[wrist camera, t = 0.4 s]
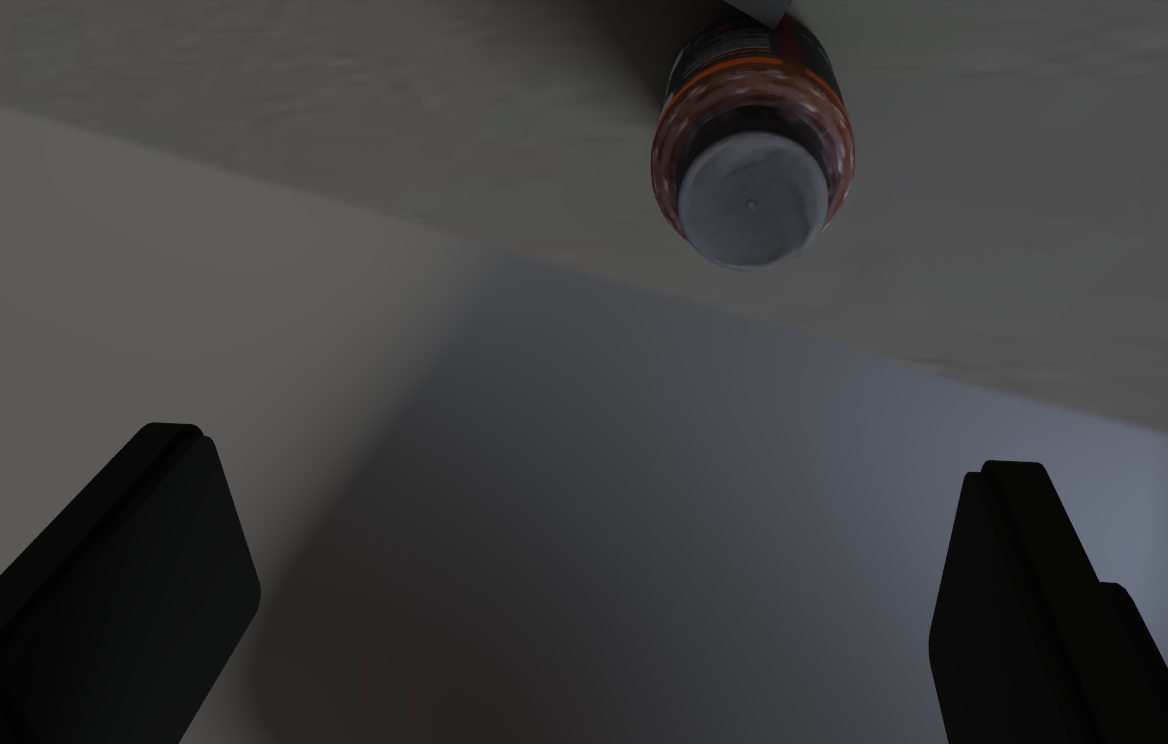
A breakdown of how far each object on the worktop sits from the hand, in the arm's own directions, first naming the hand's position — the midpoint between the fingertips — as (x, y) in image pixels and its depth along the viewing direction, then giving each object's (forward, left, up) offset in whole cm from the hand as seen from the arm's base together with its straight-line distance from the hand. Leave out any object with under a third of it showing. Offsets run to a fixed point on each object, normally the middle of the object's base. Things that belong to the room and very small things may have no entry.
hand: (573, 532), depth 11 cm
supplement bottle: (-3, 0, -26) cm, 26 cm away
